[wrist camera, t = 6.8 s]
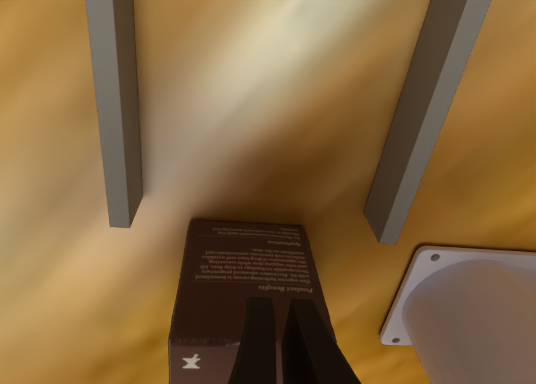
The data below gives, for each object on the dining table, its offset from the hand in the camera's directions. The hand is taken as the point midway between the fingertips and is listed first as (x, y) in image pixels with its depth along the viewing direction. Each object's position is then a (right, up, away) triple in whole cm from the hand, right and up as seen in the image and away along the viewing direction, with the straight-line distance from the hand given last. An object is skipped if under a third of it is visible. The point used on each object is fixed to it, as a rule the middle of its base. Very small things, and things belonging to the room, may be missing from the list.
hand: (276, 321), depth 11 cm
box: (-2, 0, +10) cm, 10 cm away
